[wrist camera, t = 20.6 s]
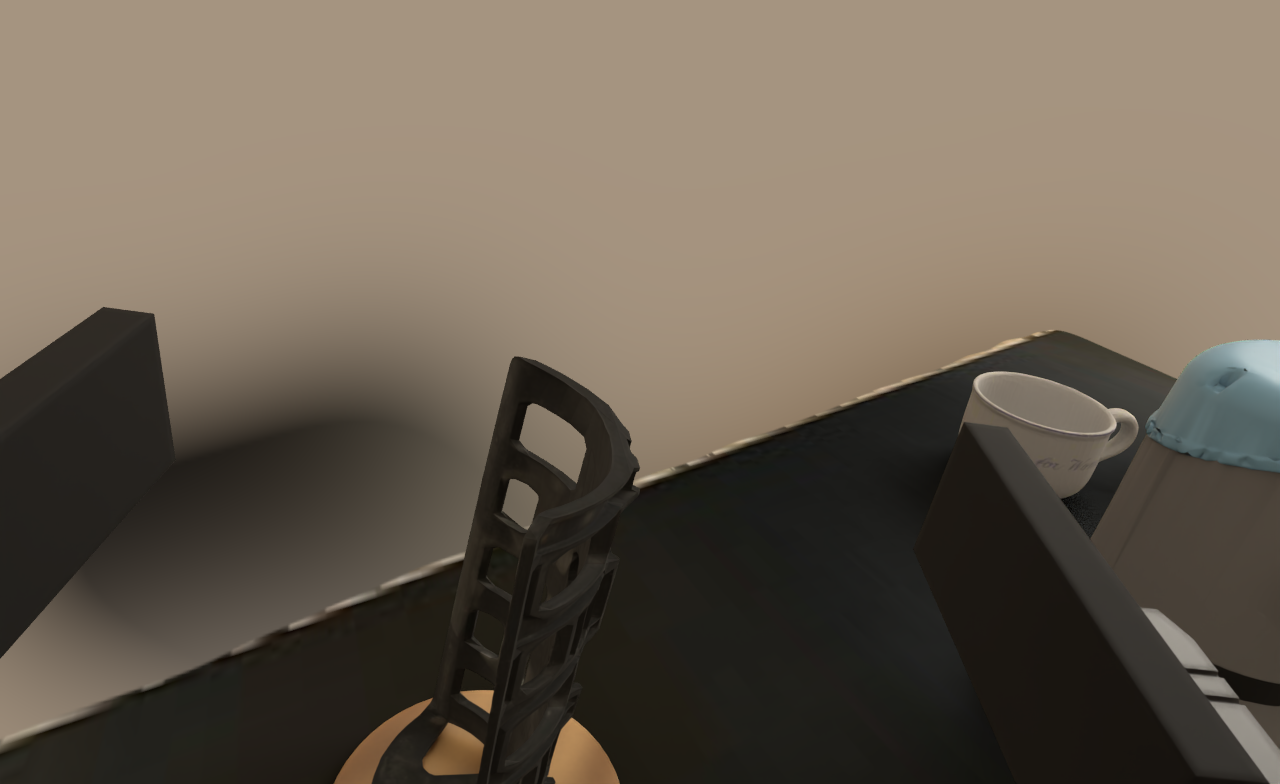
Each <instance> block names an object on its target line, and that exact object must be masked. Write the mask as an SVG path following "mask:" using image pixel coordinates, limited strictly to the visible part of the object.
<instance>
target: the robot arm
mask: <svg viewBox="0 0 1280 784" xmlns="http://www.w3.org/2000/svg"><path fill="white" fill-rule="evenodd" d="M1145 428H1146V433H1147V434H1146V435H1145V437H1144V439H1143V441H1142V443H1141V445H1140V447H1139V449H1138V451H1137V453H1136V455H1135V457H1134V458H1133V460H1132V462H1131V464H1130V466H1129V468H1128V470H1127V472H1126V474H1125V476H1124V478H1123V480H1122V481H1121V483H1120V485H1119V487H1118V489H1117V491H1116V493H1115V495H1114V497H1113V499H1112V500H1111V502H1110V504H1109V506H1108V508H1107V510H1106V511H1105V513H1104V515H1103V517H1102V519H1101V521H1100V522H1099V524H1098V526H1097V528H1096V530H1095V532H1094V533H1093V535H1092V537H1091V539H1090V538H1089V537H1088V536H1087V534H1086V533H1085V532H1084V530H1083V529H1082V528H1081V526H1080V525H1079V524H1078V522H1077V521H1076V519H1075V518H1074V517H1073V515H1072V514H1071V513H1070V511H1069V510H1068V509H1067V507H1066V506H1065V505H1064V503H1063V502H1062V500H1061V499H1060V498H1059V496H1058V495H1057V494H1056V492H1055V491H1054V490H1053V488H1052V487H1051V486H1050V484H1049V483H1048V481H1047V480H1046V479H1045V477H1044V476H1043V475H1042V473H1041V472H1040V471H1039V469H1038V468H1037V466H1036V465H1035V464H1034V462H1033V461H1032V460H1031V458H1030V457H1029V456H1028V454H1027V453H1026V452H1025V450H1024V449H1023V447H1022V446H1021V445H1020V443H1019V442H1018V441H1017V439H1016V438H1015V437H1014V435H1013V434H1012V433H1011V431H1010V430H1009V428H1007V427H1000V426H992V425H985V424H977V423H970V422H964V423H963V425H962V428H961V430H960V433H959V435H958V438H957V440H956V443H955V445H954V448H953V450H952V453H951V455H950V458H949V461H948V463H947V466H946V468H945V471H944V473H943V476H942V478H941V481H940V483H939V486H938V488H937V491H936V493H935V496H934V498H933V501H932V503H931V506H930V508H929V511H928V513H927V516H926V518H925V521H924V523H923V526H922V529H921V531H920V534H919V536H918V539H917V541H916V544H915V546H914V549H913V550H914V552H915V554H916V557H917V559H918V561H919V564H920V566H921V568H922V570H923V573H924V575H925V577H926V580H927V582H928V584H929V586H930V589H931V591H932V593H933V596H934V598H935V600H936V602H937V605H938V607H939V609H940V611H941V614H942V616H943V618H944V621H945V623H946V625H947V627H948V630H949V632H950V634H951V637H952V639H953V641H954V643H955V646H956V648H957V650H958V653H959V655H960V657H961V659H962V662H963V664H964V666H965V668H966V671H967V673H968V675H969V678H970V680H971V682H972V684H973V687H974V689H975V691H976V694H977V696H978V698H979V700H980V703H981V705H982V707H983V710H984V712H985V714H986V716H987V719H988V721H989V723H990V725H991V728H992V730H993V732H994V735H995V737H996V739H997V741H998V744H999V746H1000V748H1001V751H1002V753H1003V755H1004V757H1005V760H1006V762H1007V764H1008V767H1009V769H1010V771H1011V773H1012V776H1013V778H1014V780H1015V782H1016V784H1280V340H1244V341H1236V342H1230V343H1225V344H1221V345H1218V346H1215V347H1212V348H1209V349H1207V350H1205V351H1203V352H1202V353H1200V354H1199V355H1197V356H1196V357H1195V358H1193V359H1192V360H1191V361H1190V362H1189V363H1188V364H1187V366H1186V367H1185V368H1184V369H1183V371H1182V373H1181V374H1180V376H1179V378H1178V379H1177V381H1176V382H1175V384H1174V386H1173V387H1172V389H1171V391H1170V392H1169V394H1168V395H1167V397H1166V399H1165V400H1164V402H1163V403H1162V405H1161V407H1160V408H1159V409H1158V410H1157V411H1155V412H1154V413H1153V414H1152V415H1151V416H1150V417H1149V419H1148V421H1147V424H1146V426H1145ZM174 461H175V454H174V446H173V440H172V433H171V426H170V419H169V412H168V406H167V399H166V392H165V385H164V378H163V372H162V365H161V358H160V351H159V344H158V338H157V331H156V324H155V317H154V314H151V313H144V312H136V311H128V310H121V309H114V308H105V307H103V308H101V309H100V310H98V311H97V312H96V313H94V314H93V315H91V316H90V317H88V318H87V319H86V320H84V321H83V322H81V323H80V324H78V325H77V326H75V327H74V328H73V329H71V330H70V331H68V332H67V333H65V334H64V335H63V336H61V337H60V338H58V339H57V340H55V341H54V342H53V343H51V344H50V345H48V346H47V347H45V348H44V349H43V350H41V351H40V352H38V353H37V354H36V355H34V356H33V357H31V358H30V359H28V360H27V361H25V362H24V363H23V364H21V365H20V366H18V367H17V368H15V369H14V370H13V371H11V372H10V373H8V374H7V375H5V376H4V377H3V378H1V379H0V658H1V657H2V656H3V655H4V654H5V653H6V651H8V649H9V648H10V647H11V646H12V645H13V644H14V642H15V641H16V640H17V639H18V638H19V637H20V636H21V635H22V633H23V632H24V631H25V630H26V629H27V628H28V627H29V626H30V624H31V623H32V622H33V621H34V620H35V619H36V618H37V616H38V615H39V614H40V613H41V612H42V611H43V610H44V609H45V607H46V606H47V605H48V604H49V603H50V602H51V600H52V599H53V598H54V597H55V596H56V595H57V594H58V593H59V591H60V590H61V589H62V588H63V587H64V586H65V585H66V583H67V582H68V581H69V580H70V579H71V578H72V577H73V576H74V574H75V573H76V572H77V571H78V570H79V569H80V568H81V566H82V565H83V564H84V563H85V562H86V561H87V560H88V559H89V557H90V556H91V555H92V554H93V553H94V552H95V551H96V549H97V548H98V547H99V546H100V545H101V544H102V543H103V542H104V540H105V539H106V538H107V537H108V536H109V535H110V533H111V532H112V531H113V530H114V529H115V528H116V527H117V526H118V524H119V523H120V522H121V521H122V520H123V519H124V518H125V517H126V515H127V514H128V513H129V512H130V511H131V510H132V508H133V507H134V506H135V505H136V504H137V503H138V502H139V501H140V499H141V498H142V497H143V496H144V495H145V494H146V493H147V492H148V490H149V489H150V488H151V487H152V486H153V485H154V484H155V482H156V481H157V480H158V479H159V478H160V477H161V476H162V474H163V473H164V472H165V471H166V470H167V469H168V468H169V467H170V465H171V464H172V463H173V462H174Z"/></svg>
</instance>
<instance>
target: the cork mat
mask: <svg viewBox="0 0 1280 784" xmlns="http://www.w3.org/2000/svg"><path fill="white" fill-rule="evenodd" d="M493 692H494V691H492V690H476V691H463V692H461V693H462V694H463V695H464V696H465V697H466V698H467V699H468V700H469V701H471V702H473V703H474V704H476V705H478V706H479V707H481V708H482V709H484V710H485V711H487V712H488V713H490V709H491V704H492V697H493ZM432 699H433V698H432ZM432 699H429V700H426V701H424V702H421V703H418V704H416V705H414V706H412V707H410V708H408V709H406V710H404V711H402V712H400V713H398V714H397V715H395V716H394V717H392V718H390V719H389V720H387V721H386V722H384V723H383V724H382V725H381V726H379V727H378V728H377V729H376V730H374V731H373V732H372V733H371V734H370V735H369V736H368V737H367V738H366V739H365V740H364V741H363V742H362V743H361V744H360V745H359V746H358V747H357V748H356V750H355V751H354V752H353V753H352V755H351V756H350V757H349V758H348V760H347V761H346V763H345V764H344V766H343V768H342V769H341V771H340V773H339V774H338V776H337V778H336V780H335V782H334V784H371V783H372V780H373V776H374V773H375V771H376V769H377V766H378V764H379V761H380V759H381V757H382V755H383V754H384V752H385V751H386V749H387V748H388V746H389V745H390V744H391V742H392V741H393V740H394V739H395V737H396V736H397V735H398V734H399V733H400V732H401V731H402V730H403V729H404V728H405V727H406V726H407V725H408V724H409V723H410V722H412V721H413V720H414V719H415V718H417V717H418V716H419V715H420V714H421V713H422V712H423V711H424V710H425V708H426V707H427V706H428V705H429V704H430V702H431V701H432ZM483 747H484V744H483V743H482V742H481V741H479V740H478V739H477V738H476V737H474V736H473V735H472V734H470V733H469V732H467V731H466V730H464V729H462V728H460V727H458V726H456V725H454V724H451V723H448V724H447V726H446V727H445V728H444V730H443V731H442V733H441V734H440V735H439V737H438V738H437V740H436V741H435V742H434V744H433V745H432V747H431V748H430V750H429V751H428V752H427V754H426V755H425V757H424V758H423V759H422V761H423V767H424V769H425V770H426V771H427V772H428V773H430V774H433V775H456V774H477V773H479V769H480V764H481V758H482V753H483ZM547 777H553V778H554V780H555V781H556V782H555V784H620V783H619V780H618V777H617V774H616V772H615V770H614V768H613V766H612V764H611V762H610V760H609V758H608V756H607V755H606V753H605V752H604V750H603V749H602V747H601V746H600V744H599V743H598V742H597V741H596V740H595V739H594V737H593V736H592V735H591V734H590V733H589V732H588V731H587V730H586V729H585V728H584V727H583V726H581V725H580V724H579V723H578V722H577V721H576V720H574V719H573V718H571V719H570V720H569V721H568V722H567V723H566V725H565V726H564V727H563V728H562V729H561V732H560V734H559V737H558V740H557V743H556V747H555V750H554V753H553V757H552V761H551V765H550V769H549V774H548V776H547Z"/></svg>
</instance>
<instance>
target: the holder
mask: <svg viewBox="0 0 1280 784" xmlns="http://www.w3.org/2000/svg"><path fill="white" fill-rule="evenodd" d="M532 403H534V404H538V405H540V406H542V407H544V408H546V409H547V410H549V411H551V412H552V413H554V414H556V415H557V416H559V417H561V418H562V419H564V420H565V421H567V422H568V423H570V424H571V425H572V426H573V427H574V428H575V429H576V430H577V431H578V432H579V433H581V435H583V436H584V438H585V443H586V448H587V450H586V453H585V457H584V460H583V464H582V468H581V471H580V475H579V478H578V482H577V484H576V483H575V482H574V481H573V480H572V479H570V478H569V477H568V476H567V475H566V474H564V473H563V472H562V471H560V470H559V469H557V468H556V467H554V466H553V465H551V464H550V463H548V462H547V461H545V460H544V459H542V458H540V457H539V456H537V455H535V454H533V453H532V452H530V451H528V450H527V449H526V448H525V447H524V446H523V445H522V443H521V442H520V441H519V438H520V434H521V430H522V426H523V422H524V418H525V414H526V410H527V406H528V405H530V404H532ZM630 444H631V438H630V434H629V431H628V430H627V429H626V428H625V427H624V426H623V424H622V423H621V422H620V421H619V419H618V418H617V416H616V415H615V413H614V412H613V411H612V409H611V408H610V407H609V405H608V404H606V403H605V402H604V401H602V400H601V399H600V398H599V397H597V396H596V395H595V394H593V393H592V392H591V391H589V390H588V389H587V388H585V387H583V386H582V385H580V384H578V383H577V382H575V381H574V380H572V379H570V378H569V377H567V376H565V375H563V374H562V373H560V372H558V371H556V370H554V369H552V368H550V367H548V366H546V365H544V364H542V363H540V362H538V361H536V360H531V359H527V358H523V357H514V358H513V359H512V361H511V363H510V367H509V372H508V375H507V379H506V383H505V388H504V391H503V395H502V399H501V404H500V408H499V412H498V416H497V421H496V425H495V429H494V433H493V437H492V442H491V445H490V449H489V454H488V458H487V462H486V466H485V471H484V475H483V478H482V484H481V488H480V492H479V497H478V501H477V506H476V510H475V514H474V519H473V523H472V528H471V532H470V536H469V540H468V545H467V549H466V553H465V558H464V563H463V567H462V571H461V575H460V580H459V584H458V588H457V592H456V597H455V602H454V606H453V610H452V615H451V620H450V625H449V629H448V633H447V637H446V642H445V646H444V651H443V655H442V660H441V664H440V669H439V675H438V680H437V684H436V688H435V692H434V697H433V699H432V701H431V702H430V704H429V705H428V706H427V707H426V708H425V710H424V711H423V712H422V713H421V714H420V715H419V716H418V717H417V718H415V719H414V720H413V721H412V722H410V723H409V724H408V725H407V726H406V727H405V728H404V729H403V730H402V731H401V732H400V733H399V734H398V735H397V736H396V737H395V739H394V740H393V741H392V742H391V744H390V745H389V746H388V748H387V749H386V751H385V752H384V754H383V755H382V757H381V759H380V761H379V764H378V766H377V769H376V771H375V773H374V776H373V780H372V783H371V784H555V782H556V781H555V780H554V778H553V777H547V776H548V774H549V769H550V765H551V761H552V757H553V753H554V750H555V747H556V743H557V740H558V737H559V734H560V732H561V729H562V728H563V727H564V726H565V725H566V723H567V722H568V721H569V720H570V719H571V718H572V716H573V713H574V710H575V707H576V704H577V701H578V698H579V695H580V693H581V690H582V687H581V685H580V684H579V683H573V682H574V678H575V674H576V670H577V665H578V661H579V657H580V655H581V652H582V650H583V647H584V645H585V644H586V643H587V642H588V641H589V640H590V639H591V638H592V637H593V636H594V635H595V633H596V632H597V631H598V630H599V627H600V624H601V620H602V617H603V614H604V610H605V607H606V604H607V601H608V597H609V594H610V590H611V587H612V584H613V580H614V577H615V574H616V570H617V567H618V563H619V560H620V559H619V558H618V557H617V556H616V555H614V554H612V553H611V549H610V548H611V544H612V541H613V538H614V535H615V532H616V528H617V524H618V521H619V517H620V513H621V512H622V511H623V510H624V509H625V508H626V507H627V506H628V505H629V504H630V503H631V502H632V501H633V500H634V499H635V498H636V497H638V496H639V491H640V488H638V487H636V486H634V485H633V481H634V477H635V474H636V472H638V471H639V469H640V467H639V463H638V460H637V458H636V457H635V456H634V455H633V454H632V453H631V451H630ZM510 479H517V480H519V481H521V482H523V483H525V484H527V485H529V486H530V487H531V488H532V489H533V490H534V491H535V492H536V493H537V494H538V496H539V501H538V504H537V507H536V510H535V514H534V518H533V522H532V524H531V525H530V527H529V529H528V530H526V529H524V528H522V527H521V526H520V525H518V524H517V523H516V522H515V521H514V520H512V519H511V518H510V517H509V516H508V515H506V514H505V513H504V512H503V511H502V508H503V504H504V500H505V496H506V492H507V488H508V484H509V480H510ZM496 547H500V548H502V549H503V550H505V551H507V552H508V553H510V554H512V555H513V556H515V557H516V558H518V559H519V562H518V567H517V572H516V579H515V585H514V590H513V595H512V596H511V595H510V594H508V593H507V592H505V591H503V590H501V589H500V588H498V587H496V586H495V585H494V584H493V583H492V582H491V581H490V580H489V579H488V578H487V576H486V575H487V571H488V567H489V563H490V559H491V555H492V551H493V548H496ZM544 584H546V588H547V597H546V601H545V602H544V603H541V604H540V602H541V598H542V593H543V589H544ZM479 610H480V611H482V612H485V613H488V614H490V615H492V616H493V617H495V618H496V619H498V620H500V621H501V623H502V624H503V626H504V627H505V631H504V636H503V640H502V645H501V649H500V653H499V656H498V655H496V654H494V653H493V652H491V651H489V650H487V649H486V648H484V647H483V646H482V645H481V644H480V642H479V641H478V640H477V639H476V638H475V637H474V636H473V634H474V630H475V625H476V621H477V617H478V612H479ZM529 655H531V656H530V660H529V664H528V668H527V672H526V675H525V669H526V665H527V662H528V658H529ZM465 668H466V669H469V670H471V671H473V672H475V673H477V674H479V675H481V676H482V677H484V678H485V679H487V680H488V681H490V682H491V683H492V684H493V685H494V686H495V688H494V692H493V697H492V704H491V709H490V713H488V712H487V711H485V710H484V709H482V708H481V707H479V706H478V705H476V704H474V703H473V702H471V701H469V700H468V699H467V698H466V697H465V696H464V695H463V694H462V693H461V692H460V689H461V684H462V680H463V675H464V671H465ZM448 723H451V724H454V725H456V726H458V727H460V728H462V729H464V730H466V731H467V732H469V733H470V734H472V735H473V736H474V737H476V738H477V739H478V740H479V741H481V742H482V743H483V744H484V747H483V753H482V758H481V764H480V769H479V773H477V774H456V775H433V774H430V773H428V772H427V771H426V770H425V769H424V767H423V761H422V759H423V758H424V757H425V755H426V754H427V752H428V751H429V750H430V748H431V747H432V745H433V744H434V742H435V741H436V740H437V738H438V737H439V735H440V734H441V733H442V731H443V730H444V728H445V727H446V726H447V724H448Z"/></svg>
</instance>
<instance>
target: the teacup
mask: <svg viewBox="0 0 1280 784" xmlns="http://www.w3.org/2000/svg"><path fill="white" fill-rule="evenodd" d="M964 422H970V423H977V424H985V425H992V426H1000V427H1007V428H1009V430H1010V431H1011V433H1012V434H1013V435H1014V437H1015V438H1016V439H1017V441H1018V442H1019V443H1020V445H1021V446H1022V447H1023V449H1024V450H1025V452H1026V453H1027V454H1028V456H1029V457H1030V458H1031V460H1032V461H1033V462H1034V464H1035V465H1036V466H1037V468H1038V469H1039V471H1040V472H1041V473H1042V475H1043V476H1044V477H1045V479H1046V480H1047V481H1048V483H1049V484H1050V486H1051V487H1052V488H1053V490H1054V491H1055V492H1056V494H1057V495H1058V496H1059V498H1060V499H1062V498H1066V497H1069V496H1071V495H1073V494H1075V493H1077V492H1078V491H1080V490H1081V489H1082V488H1083V487H1084V486H1085V484H1086V483H1087V482H1088V480H1089V479H1090V477H1091V476H1092V474H1093V472H1094V470H1095V468H1096V466H1097V464H1098V462H1099V461H1102V460H1105V459H1108V458H1111V457H1113V456H1115V455H1117V454H1119V453H1121V452H1123V451H1124V450H1126V449H1127V448H1128V447H1129V446H1130V445H1131V444H1132V443H1133V442H1134V440H1135V438H1136V436H1137V433H1138V423H1137V421H1136V419H1135V417H1134V416H1133V415H1132V414H1130V413H1129V412H1127V411H1126V410H1123V409H1120V408H1112V409H1108V410H1107V409H1106V408H1105V407H1104V406H1103V405H1101V404H1100V403H1099V402H1097V401H1096V400H1094V399H1092V398H1091V397H1089V396H1087V395H1086V394H1083V393H1081V392H1079V391H1077V390H1075V389H1073V388H1070V387H1068V386H1065V385H1061V384H1059V383H1056V382H1054V381H1051V380H1047V379H1043V378H1039V377H1035V376H1031V375H1026V374H1020V373H1013V372H990V373H985V374H981V375H979V376H978V377H976V378H975V380H974V382H973V390H972V393H971V396H970V399H969V402H968V405H967V408H966V410H965V414H964V417H963V420H962V423H961V427H960V430H961V428H962V425H963V423H964ZM1117 422H1121V428H1120V431H1119V432H1118V434H1117V435H1116V436H1115V437H1114V438H1113V439H1111V440H1110V441H1108V439H1109V437H1110V435H1111V433H1112V432H1114V430H1115V428H1116V425H1117V424H1116V423H1117ZM959 433H960V431H959ZM1107 441H1108V442H1107Z"/></svg>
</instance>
